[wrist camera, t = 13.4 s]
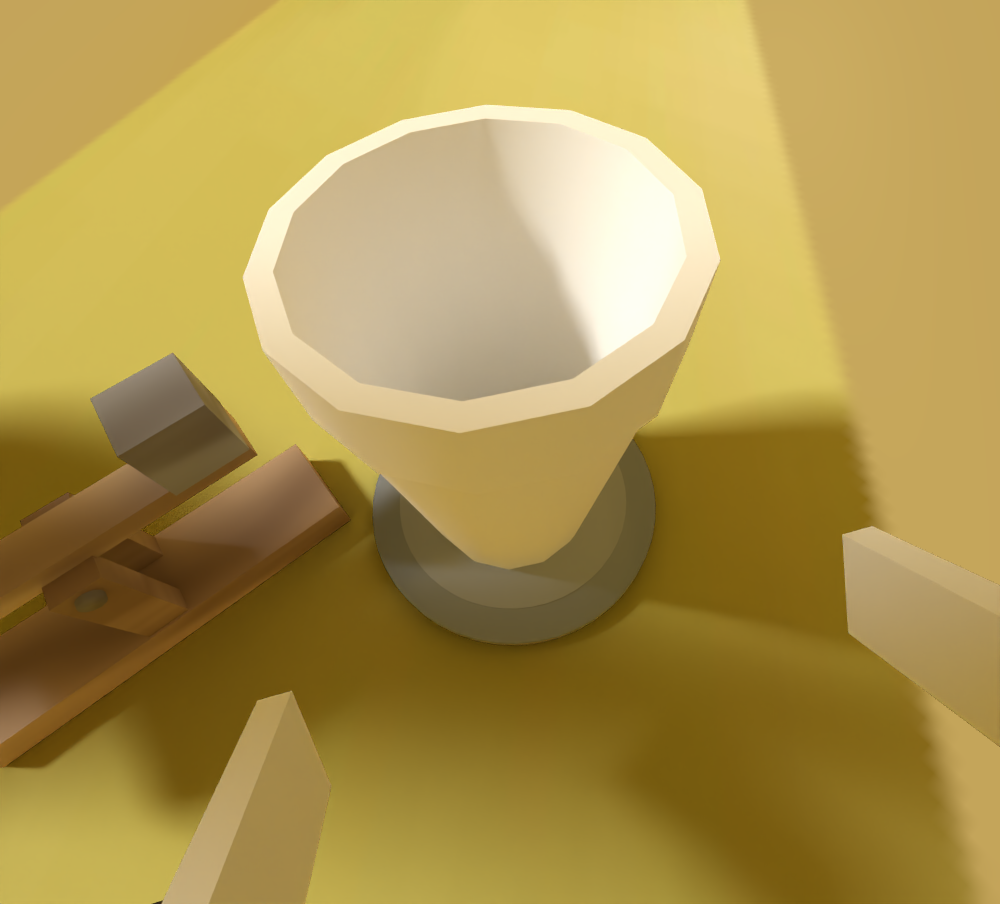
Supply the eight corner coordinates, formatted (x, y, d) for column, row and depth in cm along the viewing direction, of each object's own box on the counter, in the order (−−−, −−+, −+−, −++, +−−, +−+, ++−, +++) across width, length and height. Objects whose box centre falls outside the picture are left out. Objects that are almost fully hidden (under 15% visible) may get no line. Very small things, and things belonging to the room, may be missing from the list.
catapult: (-46, 682, 20) (-424, 646, 12) (303, 453, 25) (188, 315, 17) (-22, 800, 18) (-457, 847, 10) (356, 528, 22) (253, 411, 14)
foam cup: (529, 371, 25) (520, 65, 13) (671, 510, 21) (825, 241, 10) (360, 482, 23) (178, 224, 11) (483, 661, 19) (393, 543, 7)
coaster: (329, 488, 24) (321, 480, 23) (528, 352, 27) (527, 340, 26) (489, 717, 18) (487, 716, 18) (712, 516, 22) (719, 507, 21)
